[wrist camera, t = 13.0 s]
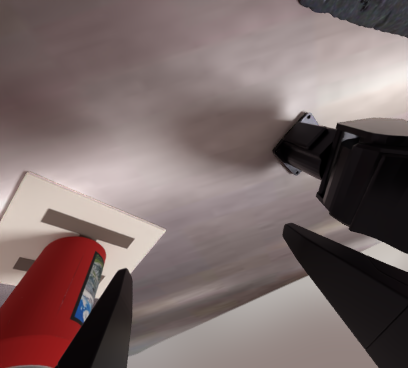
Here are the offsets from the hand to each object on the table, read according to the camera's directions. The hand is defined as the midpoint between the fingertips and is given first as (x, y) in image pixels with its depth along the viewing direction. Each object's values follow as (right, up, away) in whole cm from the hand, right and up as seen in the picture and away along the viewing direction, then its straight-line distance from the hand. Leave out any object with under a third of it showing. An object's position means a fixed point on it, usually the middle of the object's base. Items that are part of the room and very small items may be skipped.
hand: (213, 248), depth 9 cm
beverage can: (-17, -5, +12) cm, 21 cm away
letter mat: (-17, -5, +13) cm, 22 cm away
